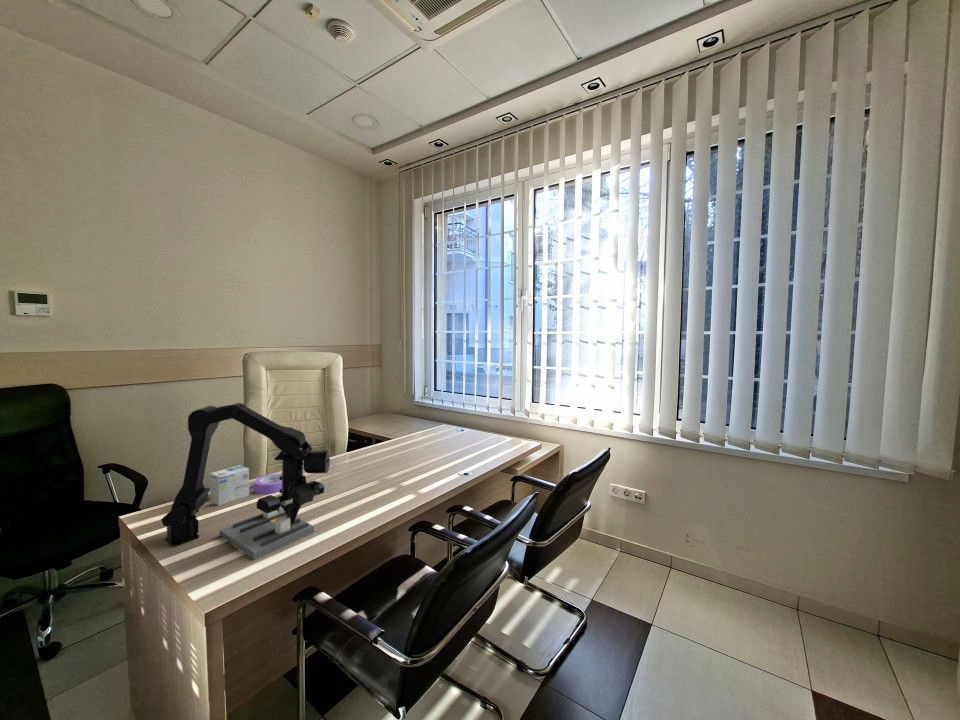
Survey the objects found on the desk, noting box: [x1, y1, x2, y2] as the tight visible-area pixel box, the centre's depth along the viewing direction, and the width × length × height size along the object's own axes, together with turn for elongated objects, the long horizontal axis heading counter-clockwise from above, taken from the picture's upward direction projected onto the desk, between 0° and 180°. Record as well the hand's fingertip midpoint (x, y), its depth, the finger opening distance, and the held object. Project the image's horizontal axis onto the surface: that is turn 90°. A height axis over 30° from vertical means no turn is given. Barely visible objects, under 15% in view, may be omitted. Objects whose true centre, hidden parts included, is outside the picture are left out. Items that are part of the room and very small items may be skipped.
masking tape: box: [253, 473, 282, 495], centre depth 150 cm, size 12×12×4 cm
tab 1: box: [262, 510, 277, 519], centre depth 123 cm, size 3×3×4 cm
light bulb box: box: [209, 464, 250, 507], centre depth 139 cm, size 11×7×11 cm, turn 149°
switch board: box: [219, 508, 315, 561], centre depth 117 cm, size 18×20×3 cm
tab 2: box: [275, 516, 290, 534], centre depth 114 cm, size 3×3×4 cm
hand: (292, 522), depth 117 cm, fingers closed
